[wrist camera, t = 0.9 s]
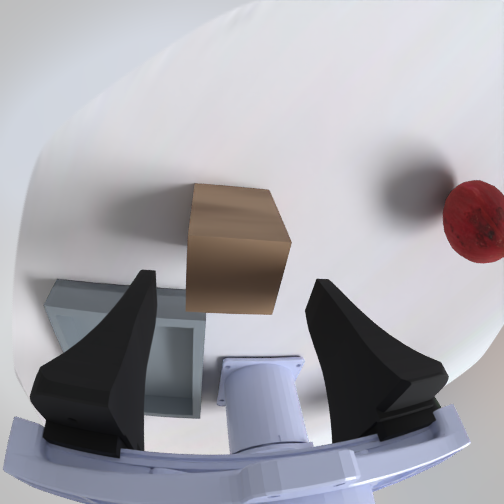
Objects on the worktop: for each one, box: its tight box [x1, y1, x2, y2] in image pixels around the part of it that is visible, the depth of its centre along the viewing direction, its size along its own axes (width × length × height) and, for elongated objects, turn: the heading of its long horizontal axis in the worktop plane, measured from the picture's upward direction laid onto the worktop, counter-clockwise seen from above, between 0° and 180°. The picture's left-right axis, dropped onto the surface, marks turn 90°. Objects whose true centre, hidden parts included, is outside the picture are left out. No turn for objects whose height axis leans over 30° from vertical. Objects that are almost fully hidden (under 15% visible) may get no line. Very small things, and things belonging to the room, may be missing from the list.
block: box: [186, 183, 292, 315], centre depth 17 cm, size 4×4×6 cm
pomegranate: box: [443, 180, 504, 263], centre depth 17 cm, size 6×6×8 cm
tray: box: [44, 279, 206, 419], centre depth 24 cm, size 16×12×3 cm
